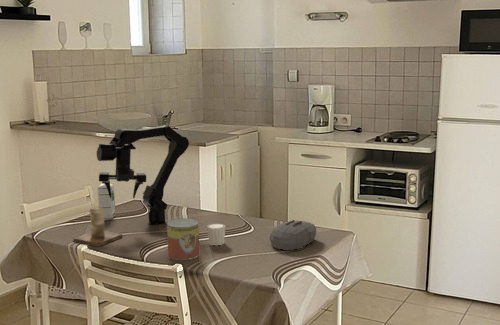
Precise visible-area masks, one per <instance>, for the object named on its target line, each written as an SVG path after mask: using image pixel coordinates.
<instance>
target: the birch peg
mask: <svg viewBox="0 0 500 325" xmlns="http://www.w3.org/2000/svg"><path fill="white" fill-rule="evenodd" d="M89 210H90V211H89V212H90V232H91V236H92V238H102V237H104V236H105V231H106V230H105V219H104V208H102V207H99V206H94V207H91V208H89Z"/></svg>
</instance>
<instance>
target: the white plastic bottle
mask: <svg viewBox="0 0 500 325" xmlns="http://www.w3.org/2000/svg"><path fill="white" fill-rule="evenodd" d="M110 187H111V198H110V196H109V193H108V189H107V187H106V185H105V184H104V183H100V185H98V186H97V197H98V200H97V201H98V207H102V208H104V220H106V219H107V220H108V219H109V220H111V219H113V218H114V217H115V216H116V215H117V214H116V200H115V189H114V188H115V186H114V183H111V182H110Z"/></svg>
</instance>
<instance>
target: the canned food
mask: <svg viewBox="0 0 500 325" xmlns="http://www.w3.org/2000/svg"><path fill="white" fill-rule="evenodd" d="M199 223H200V222H199V220H197V219H195V218H188V217H185V218H183V217H181V218H174V219H171V220H169V221H166V227H167V229H166V230H167V231H166V232H167V257H168V258H170V259H171V258H172V259H171V260H174V259H176V261H185V260H184V259H189V258H194V257H196V256H198V255H199V253H200V236H199V235H200V234H199V233H200V229H199V225H200V224H199ZM199 256H200V255H199ZM199 256H198V257H199ZM196 258H197V257H196ZM194 259H195V258H194Z"/></svg>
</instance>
